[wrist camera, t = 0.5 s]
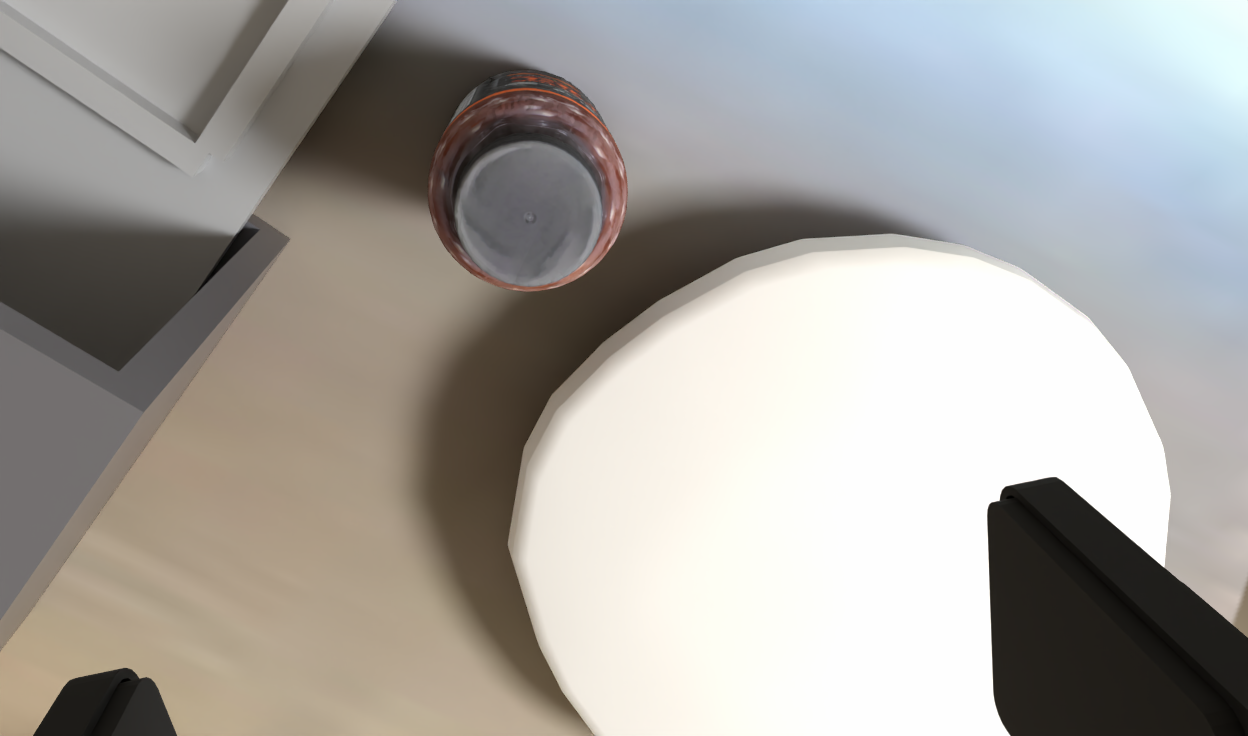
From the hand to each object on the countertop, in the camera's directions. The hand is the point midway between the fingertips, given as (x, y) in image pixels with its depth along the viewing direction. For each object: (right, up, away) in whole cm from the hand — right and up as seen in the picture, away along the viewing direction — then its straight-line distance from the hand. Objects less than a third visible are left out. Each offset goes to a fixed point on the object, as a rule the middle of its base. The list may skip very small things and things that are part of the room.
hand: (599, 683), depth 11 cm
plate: (+9, -3, +34) cm, 35 cm away
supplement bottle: (-3, +12, +26) cm, 29 cm away
